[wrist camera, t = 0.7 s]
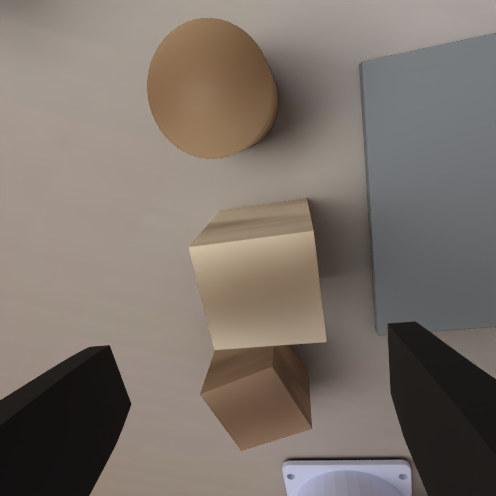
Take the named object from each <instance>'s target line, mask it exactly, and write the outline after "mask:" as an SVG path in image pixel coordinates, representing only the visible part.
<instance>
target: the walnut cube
mask: <svg viewBox="0 0 496 496" xmlns="http://www.w3.org/2000/svg"><path fill="white" fill-rule="evenodd" d="M200 395H201V396H202V398H203V399H204V401H205V402H206V403H207V405H208V406H209V407H210V409H211V410H212V411H213V413H214V414H215V416H216V417H217V418H218V420H219V421H220V422H221V424H222V425H223V426H224V428H225V429H226V431H227V432H228V433H229V435H230V436H231V437H232V439H233V440H234V441H235V443H236V444H237V446H238V447H239V448H240V450H241V451H242V450H245V449H249V448H252V447H255V446H258V445H261V444H265V443H268V442H271V441H274V440H277V439H281V438H284V437H287V436H290V435H293V434H297V433H300V432H303V431H306V430H309V429H312V422H311V406H310V391H309V376H308V371H307V370H306V368H305V366H304V365H303V363H302V361H301V360H300V358H299V357H298V355H297V353H296V352H295V350H294V348H293V347H292V345H278V346H265V347H251V348H237V349H223V350H215V352H214V355H213V358H212V361H211V364H210V367H209V370H208V373H207V376H206V378H205V381H204V384H203V387H202V390H201V393H200Z"/></svg>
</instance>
